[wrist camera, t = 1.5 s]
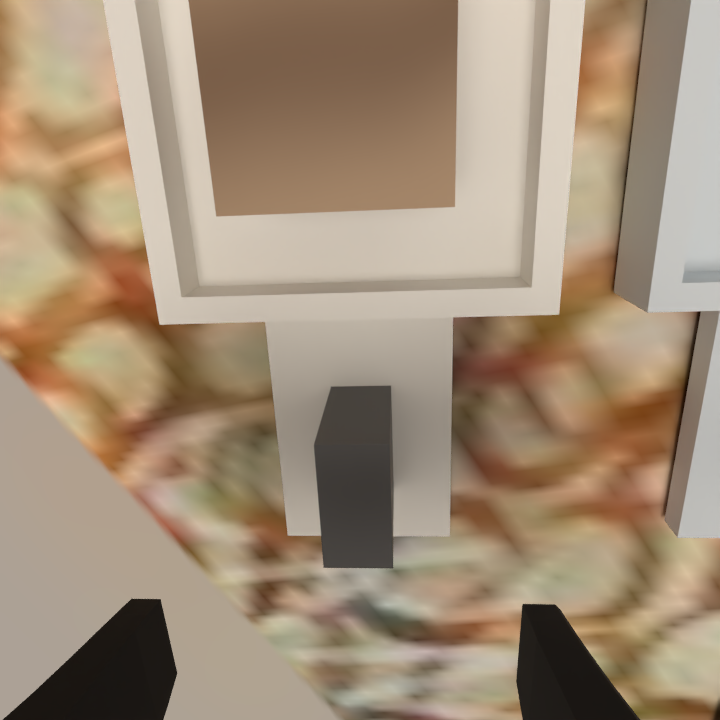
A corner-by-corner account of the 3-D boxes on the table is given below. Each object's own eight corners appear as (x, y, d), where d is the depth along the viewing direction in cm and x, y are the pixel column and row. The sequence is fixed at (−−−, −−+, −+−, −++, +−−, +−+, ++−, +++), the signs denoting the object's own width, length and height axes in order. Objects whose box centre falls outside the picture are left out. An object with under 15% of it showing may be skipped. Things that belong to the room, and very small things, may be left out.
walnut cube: (437, 194, 16) (455, 207, 11) (268, 201, 16) (216, 216, 11) (438, -7, 14) (459, -93, 9) (250, 7, 14) (179, -70, 10)
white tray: (521, 519, 20) (559, 625, 16) (222, 518, 21) (173, 618, 17) (567, -156, 14) (658, -325, 9) (125, -118, 14) (-5, -252, 10)
